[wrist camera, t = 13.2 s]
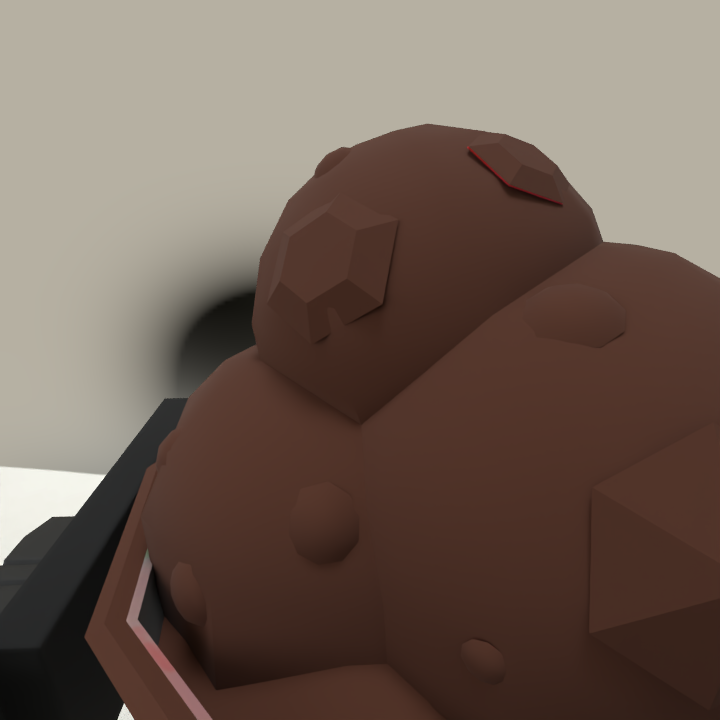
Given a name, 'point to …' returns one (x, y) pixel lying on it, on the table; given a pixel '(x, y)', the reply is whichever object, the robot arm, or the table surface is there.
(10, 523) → the table surface
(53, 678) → the robot arm
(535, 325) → the ice cream bowl
